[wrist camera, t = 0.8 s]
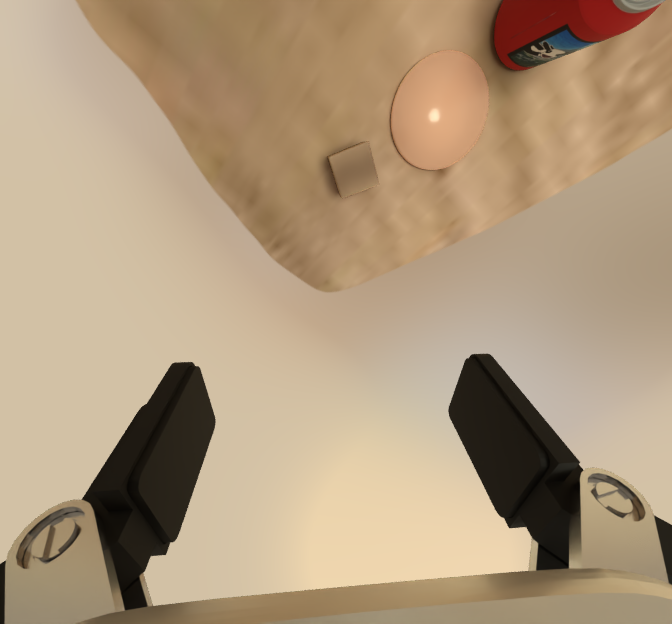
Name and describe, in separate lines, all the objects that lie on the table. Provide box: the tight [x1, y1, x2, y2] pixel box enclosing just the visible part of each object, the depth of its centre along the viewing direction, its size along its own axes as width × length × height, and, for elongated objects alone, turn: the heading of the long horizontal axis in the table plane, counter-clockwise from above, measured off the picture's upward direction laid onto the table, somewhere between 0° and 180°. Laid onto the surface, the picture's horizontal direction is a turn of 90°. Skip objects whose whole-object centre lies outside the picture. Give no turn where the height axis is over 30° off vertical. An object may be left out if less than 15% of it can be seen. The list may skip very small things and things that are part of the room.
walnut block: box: [327, 141, 379, 199], centre depth 29 cm, size 4×4×4 cm
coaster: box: [390, 50, 489, 170], centre depth 29 cm, size 10×10×1 cm
